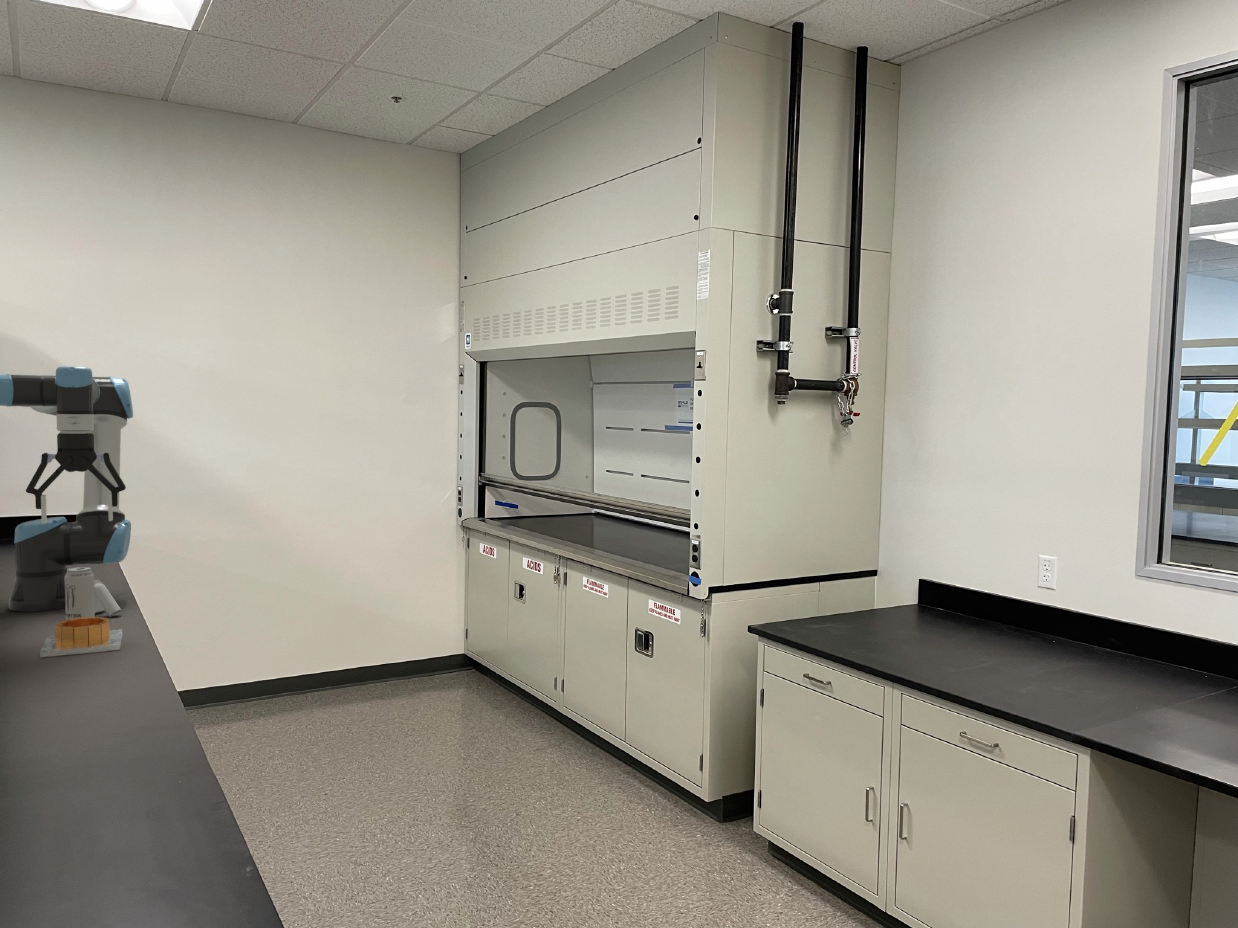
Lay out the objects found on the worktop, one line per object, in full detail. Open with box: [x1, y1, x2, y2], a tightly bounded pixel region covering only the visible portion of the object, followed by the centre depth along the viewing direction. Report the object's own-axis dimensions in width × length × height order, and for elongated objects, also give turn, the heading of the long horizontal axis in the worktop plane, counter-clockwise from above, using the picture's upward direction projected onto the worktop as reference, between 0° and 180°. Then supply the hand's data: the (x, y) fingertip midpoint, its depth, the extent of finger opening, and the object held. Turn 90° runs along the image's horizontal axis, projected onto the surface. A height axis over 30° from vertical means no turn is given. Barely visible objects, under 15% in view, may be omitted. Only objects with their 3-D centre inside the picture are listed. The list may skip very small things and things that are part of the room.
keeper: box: [39, 616, 123, 658], centre depth 204 cm, size 15×15×5 cm
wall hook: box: [94, 579, 122, 618], centre depth 233 cm, size 8×10×10 cm
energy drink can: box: [64, 566, 96, 620], centre depth 217 cm, size 6×6×15 cm
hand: (77, 521), depth 215 cm, fingers open, 13 cm apart
